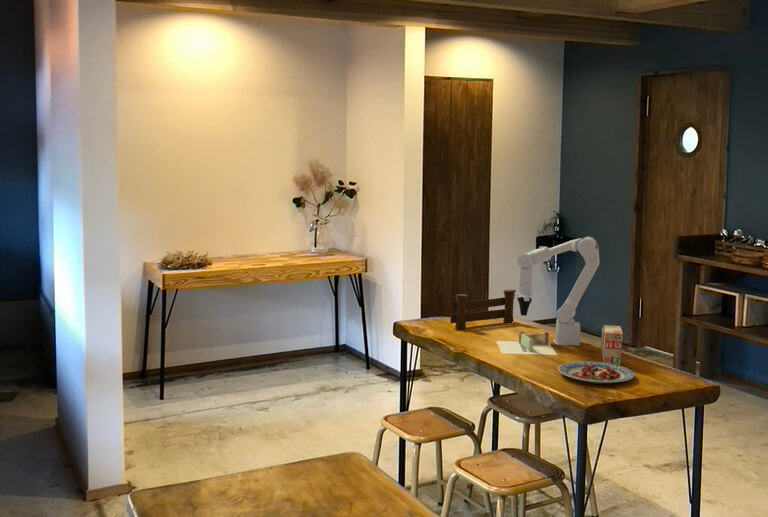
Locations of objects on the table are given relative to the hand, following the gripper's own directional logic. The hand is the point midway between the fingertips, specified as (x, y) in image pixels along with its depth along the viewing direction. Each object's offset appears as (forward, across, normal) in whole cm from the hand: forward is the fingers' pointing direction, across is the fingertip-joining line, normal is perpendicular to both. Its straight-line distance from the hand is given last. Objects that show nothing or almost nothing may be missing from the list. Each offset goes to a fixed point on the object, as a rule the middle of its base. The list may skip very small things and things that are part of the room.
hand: (523, 315), depth 351 cm
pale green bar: (+9, +17, -1) cm, 20 cm away
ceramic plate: (+10, +54, +18) cm, 58 cm away
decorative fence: (+10, -24, -14) cm, 29 cm away
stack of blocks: (+10, +27, +30) cm, 41 cm away
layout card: (+10, +16, -1) cm, 19 cm away
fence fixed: (+9, +10, +3) cm, 14 cm away
